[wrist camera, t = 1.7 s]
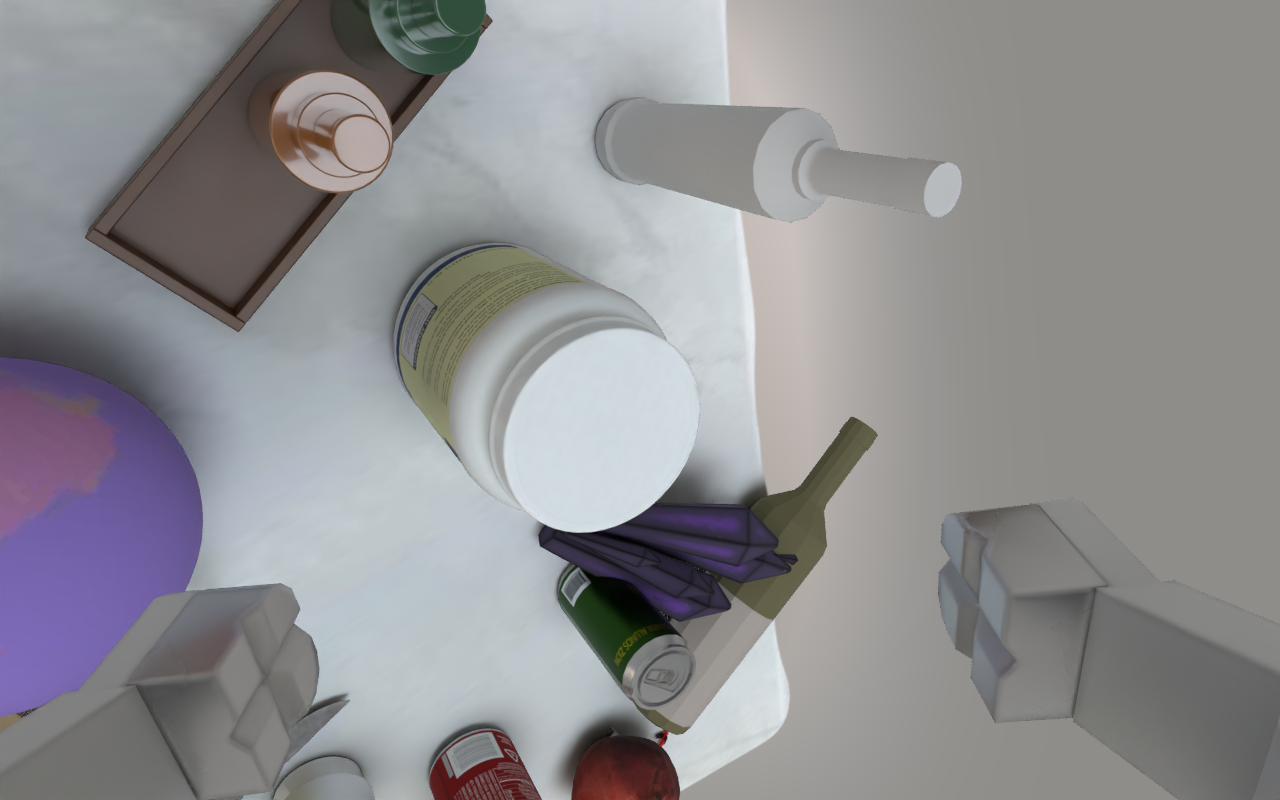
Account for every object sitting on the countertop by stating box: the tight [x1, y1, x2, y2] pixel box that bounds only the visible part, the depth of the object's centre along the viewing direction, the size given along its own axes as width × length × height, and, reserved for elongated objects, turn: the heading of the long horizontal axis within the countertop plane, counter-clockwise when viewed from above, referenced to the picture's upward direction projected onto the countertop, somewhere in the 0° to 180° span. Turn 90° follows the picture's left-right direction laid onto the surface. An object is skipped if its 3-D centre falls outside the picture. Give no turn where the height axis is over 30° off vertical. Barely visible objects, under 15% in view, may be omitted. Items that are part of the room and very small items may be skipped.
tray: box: [85, 0, 492, 332], centre depth 39 cm, size 21×8×2 cm, turn 135°
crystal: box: [538, 503, 799, 622], centre depth 58 cm, size 7×12×20 cm
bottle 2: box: [633, 417, 878, 735], centre depth 65 cm, size 7×7×30 cm
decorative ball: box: [0, 358, 203, 717], centre depth 33 cm, size 15×15×15 cm
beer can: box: [558, 564, 696, 710], centre depth 56 cm, size 5×5×12 cm
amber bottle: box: [247, 69, 394, 193], centre depth 33 cm, size 5×5×16 cm
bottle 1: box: [595, 98, 962, 223], centre depth 40 cm, size 5×5×25 cm
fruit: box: [571, 728, 680, 800], centre depth 65 cm, size 9×10×10 cm
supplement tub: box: [394, 243, 700, 533], centre depth 43 cm, size 12×12×17 cm
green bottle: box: [330, 0, 486, 75], centre depth 35 cm, size 5×5×14 cm
